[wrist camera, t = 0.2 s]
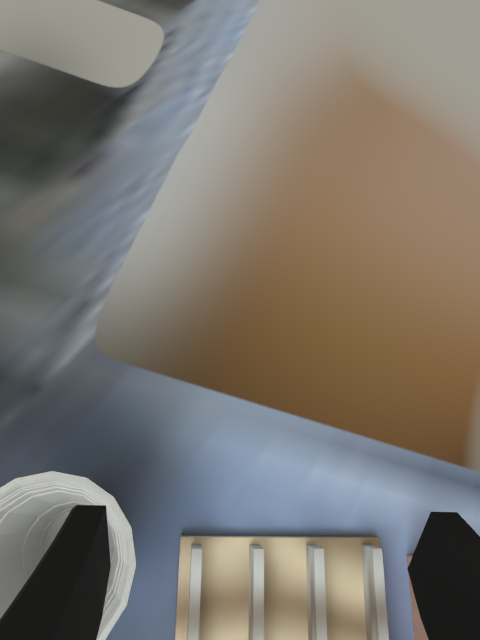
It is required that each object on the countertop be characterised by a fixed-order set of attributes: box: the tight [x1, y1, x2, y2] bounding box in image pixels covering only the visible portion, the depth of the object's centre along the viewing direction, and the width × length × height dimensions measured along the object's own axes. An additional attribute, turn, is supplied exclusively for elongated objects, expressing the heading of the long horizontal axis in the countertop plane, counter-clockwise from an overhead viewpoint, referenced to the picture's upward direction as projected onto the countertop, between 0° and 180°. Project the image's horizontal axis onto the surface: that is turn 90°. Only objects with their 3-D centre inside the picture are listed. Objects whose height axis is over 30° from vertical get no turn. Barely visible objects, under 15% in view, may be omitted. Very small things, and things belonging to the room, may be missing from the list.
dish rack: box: [175, 536, 389, 640], centre depth 36 cm, size 11×17×4 cm, turn 89°
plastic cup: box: [0, 471, 136, 640], centre depth 32 cm, size 11×11×12 cm
